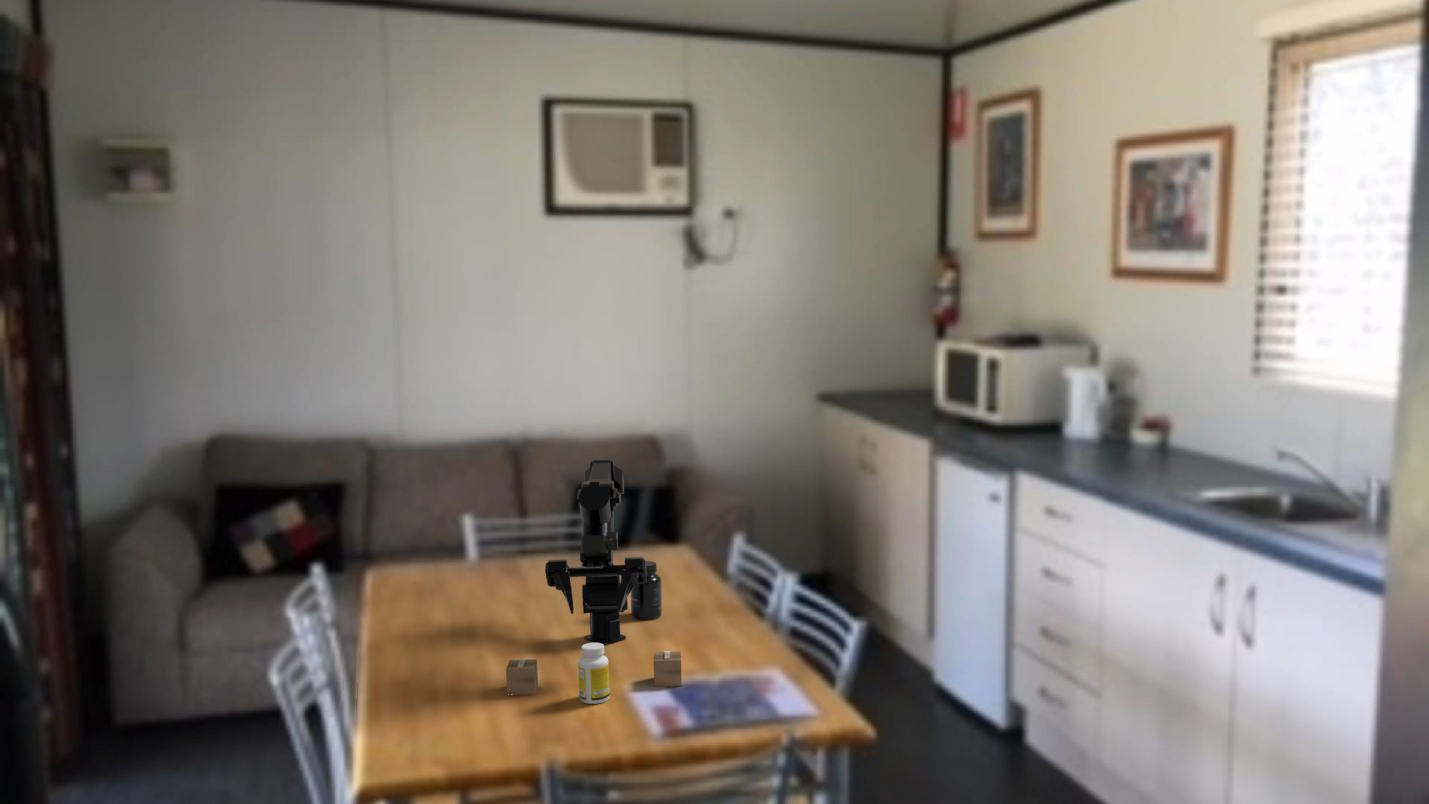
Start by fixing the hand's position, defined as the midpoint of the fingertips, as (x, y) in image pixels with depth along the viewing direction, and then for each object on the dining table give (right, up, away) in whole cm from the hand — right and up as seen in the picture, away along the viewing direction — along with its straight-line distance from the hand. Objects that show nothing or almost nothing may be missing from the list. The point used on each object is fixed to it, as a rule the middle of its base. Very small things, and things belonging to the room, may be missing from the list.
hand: (595, 612), depth 212 cm
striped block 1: (-13, -14, -1) cm, 19 cm away
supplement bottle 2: (+7, -9, +43) cm, 44 cm away
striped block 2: (+13, -13, +2) cm, 19 cm away
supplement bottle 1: (+1, -15, -7) cm, 16 cm away
